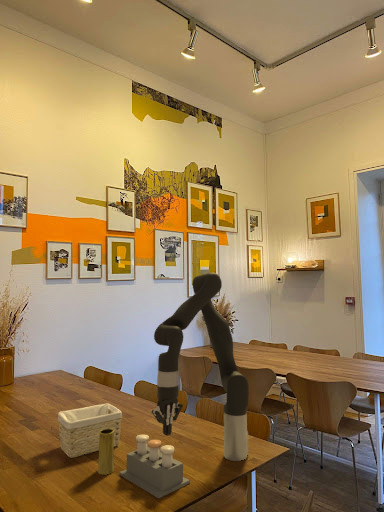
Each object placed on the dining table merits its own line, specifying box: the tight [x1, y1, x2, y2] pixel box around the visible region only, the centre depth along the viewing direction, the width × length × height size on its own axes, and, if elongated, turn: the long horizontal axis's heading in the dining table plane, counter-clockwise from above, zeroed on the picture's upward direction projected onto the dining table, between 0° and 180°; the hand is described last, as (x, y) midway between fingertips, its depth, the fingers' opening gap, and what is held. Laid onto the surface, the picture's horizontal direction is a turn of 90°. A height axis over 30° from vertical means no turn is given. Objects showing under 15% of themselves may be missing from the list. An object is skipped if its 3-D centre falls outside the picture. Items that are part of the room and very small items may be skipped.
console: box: [119, 445, 191, 499], centre depth 134 cm, size 14×22×7 cm, turn 45°
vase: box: [97, 429, 115, 476], centre depth 140 cm, size 6×6×14 cm
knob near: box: [159, 444, 175, 469], centre depth 130 cm, size 5×5×8 cm
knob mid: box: [147, 439, 162, 462], centre depth 135 cm, size 5×5×8 cm
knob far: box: [135, 434, 150, 456], centre depth 140 cm, size 5×5×8 cm
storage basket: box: [57, 402, 123, 459], centre depth 162 cm, size 24×16×15 cm
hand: (167, 434), depth 131 cm, fingers closed
